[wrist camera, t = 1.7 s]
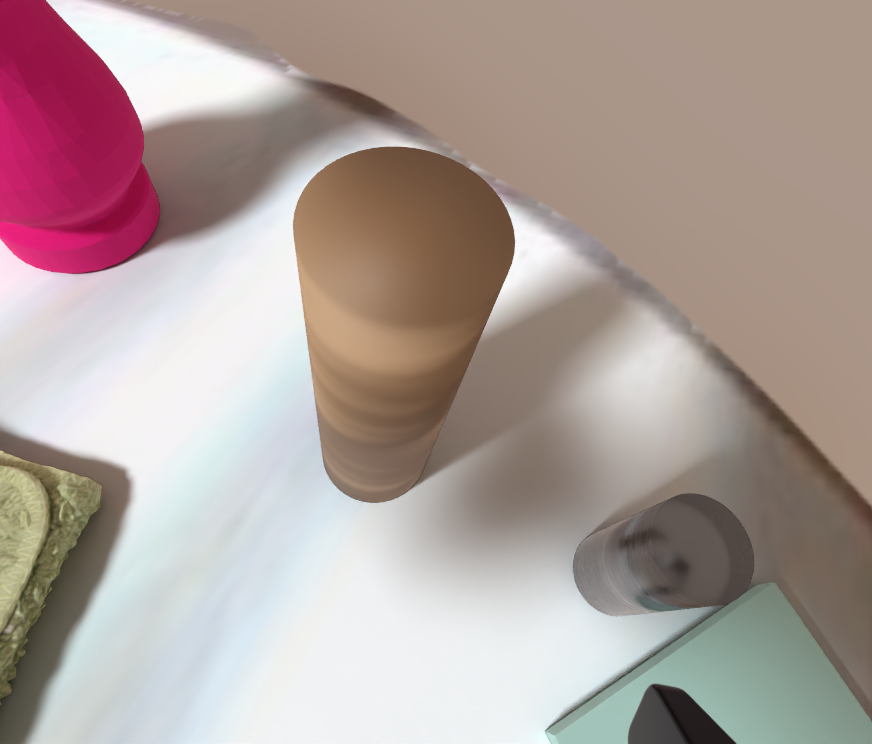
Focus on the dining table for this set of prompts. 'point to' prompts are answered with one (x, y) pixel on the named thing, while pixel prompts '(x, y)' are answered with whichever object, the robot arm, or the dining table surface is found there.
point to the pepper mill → (67, 149)
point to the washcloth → (34, 544)
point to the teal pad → (737, 682)
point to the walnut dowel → (394, 305)
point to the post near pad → (666, 559)
